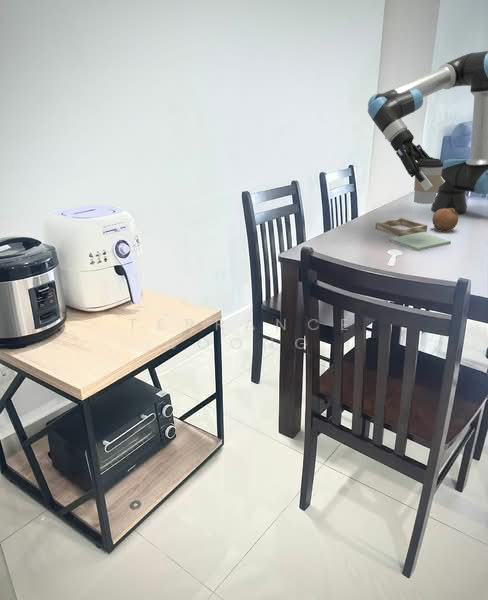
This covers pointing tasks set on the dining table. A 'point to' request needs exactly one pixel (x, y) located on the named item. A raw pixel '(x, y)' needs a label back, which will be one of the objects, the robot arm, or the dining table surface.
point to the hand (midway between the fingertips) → (435, 186)
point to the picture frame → (413, 229)
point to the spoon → (393, 256)
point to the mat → (420, 241)
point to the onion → (445, 219)
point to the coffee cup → (433, 174)
